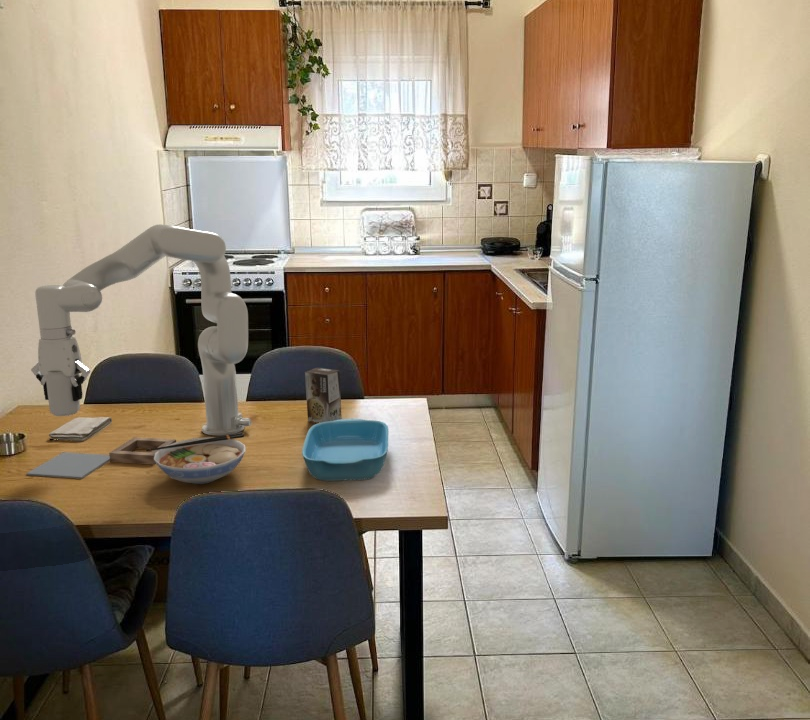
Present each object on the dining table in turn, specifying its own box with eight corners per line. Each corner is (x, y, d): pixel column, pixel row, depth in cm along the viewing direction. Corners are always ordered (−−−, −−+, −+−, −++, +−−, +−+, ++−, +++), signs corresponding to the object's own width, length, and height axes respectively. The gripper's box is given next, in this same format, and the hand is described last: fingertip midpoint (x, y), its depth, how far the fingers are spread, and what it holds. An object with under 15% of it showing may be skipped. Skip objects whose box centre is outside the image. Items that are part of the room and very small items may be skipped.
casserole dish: (312, 440, 232) (310, 417, 231) (388, 439, 233) (388, 415, 231) (298, 490, 197) (297, 463, 195) (389, 488, 197) (388, 461, 195)
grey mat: (115, 457, 221) (115, 455, 221) (81, 478, 206) (81, 477, 205) (63, 453, 224) (63, 452, 224) (26, 475, 209) (26, 473, 209)
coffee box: (342, 420, 250) (340, 370, 246) (329, 425, 245) (327, 374, 241) (319, 415, 255) (317, 366, 251) (306, 421, 249) (304, 371, 246)
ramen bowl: (157, 504, 189) (154, 471, 187) (146, 471, 210) (143, 442, 208) (261, 486, 199) (259, 455, 197) (241, 457, 219) (239, 428, 217)
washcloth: (47, 442, 235) (45, 432, 234) (76, 423, 252) (75, 414, 252) (86, 443, 234) (84, 433, 233) (113, 423, 251) (112, 414, 251)
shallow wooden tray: (176, 447, 227) (175, 439, 227) (154, 464, 215) (153, 455, 214) (134, 445, 230) (134, 437, 229) (110, 461, 217) (109, 452, 217)
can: (73, 417, 207) (68, 372, 205) (44, 417, 208) (39, 372, 205) (85, 408, 215) (80, 365, 212) (57, 408, 215) (52, 365, 212)
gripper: (94, 331, 208) (101, 396, 212) (35, 329, 211) (43, 394, 216) (78, 337, 201) (85, 404, 205) (16, 335, 204) (25, 401, 208)
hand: (63, 398), depth 210 cm, fingers closed on can, 7 cm apart
